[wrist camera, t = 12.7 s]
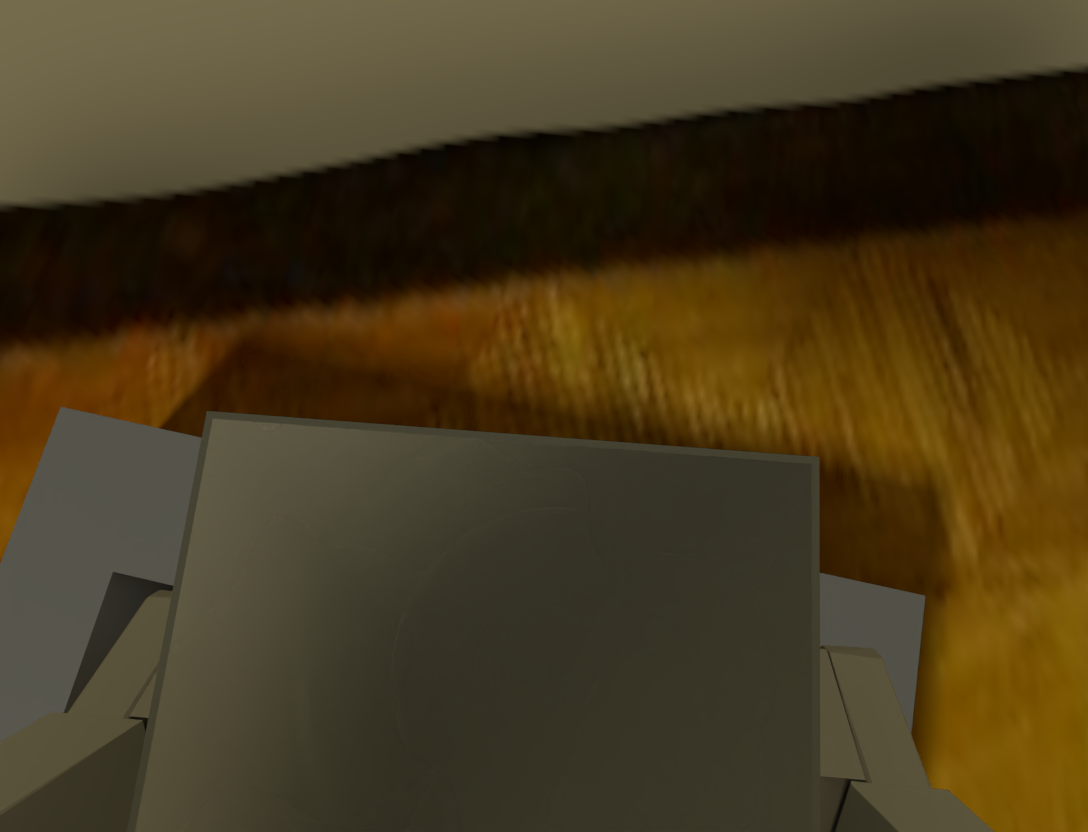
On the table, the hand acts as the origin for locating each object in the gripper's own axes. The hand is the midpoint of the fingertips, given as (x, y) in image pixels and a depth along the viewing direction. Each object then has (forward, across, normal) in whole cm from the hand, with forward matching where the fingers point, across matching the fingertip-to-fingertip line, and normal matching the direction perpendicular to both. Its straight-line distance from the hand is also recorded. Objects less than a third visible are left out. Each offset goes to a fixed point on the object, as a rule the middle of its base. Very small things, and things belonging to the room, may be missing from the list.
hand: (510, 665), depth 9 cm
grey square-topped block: (+3, 0, +4) cm, 4 cm away
